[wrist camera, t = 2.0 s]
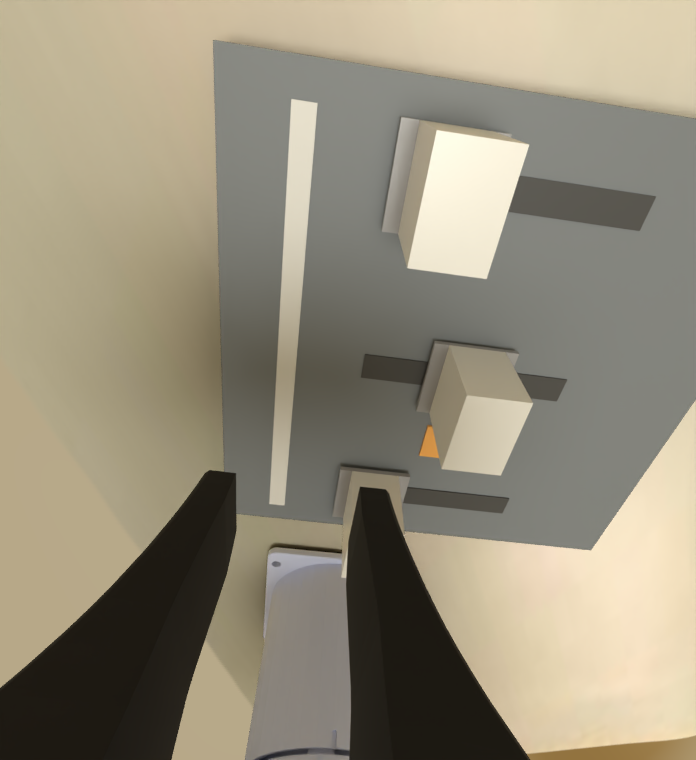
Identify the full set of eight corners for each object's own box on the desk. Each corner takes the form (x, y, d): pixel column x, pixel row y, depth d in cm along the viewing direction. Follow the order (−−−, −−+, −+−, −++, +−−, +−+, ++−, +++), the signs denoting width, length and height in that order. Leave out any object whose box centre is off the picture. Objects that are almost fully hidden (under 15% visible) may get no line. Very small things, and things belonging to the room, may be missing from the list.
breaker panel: (578, 525, 24) (591, 551, 22) (232, 488, 22) (224, 514, 21) (824, 141, 14) (874, 147, 12) (227, 44, 13) (211, 39, 11)
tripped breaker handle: (491, 417, 18) (515, 477, 15) (416, 408, 17) (426, 467, 15) (517, 351, 16) (549, 405, 13) (434, 340, 16) (450, 393, 13)
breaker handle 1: (396, 519, 21) (401, 583, 18) (332, 513, 21) (328, 576, 18) (409, 473, 19) (418, 536, 17) (340, 466, 19) (337, 528, 16)
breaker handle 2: (477, 243, 14) (506, 281, 11) (381, 229, 14) (387, 265, 11) (509, 133, 12) (552, 147, 10) (401, 116, 12) (413, 126, 9)
